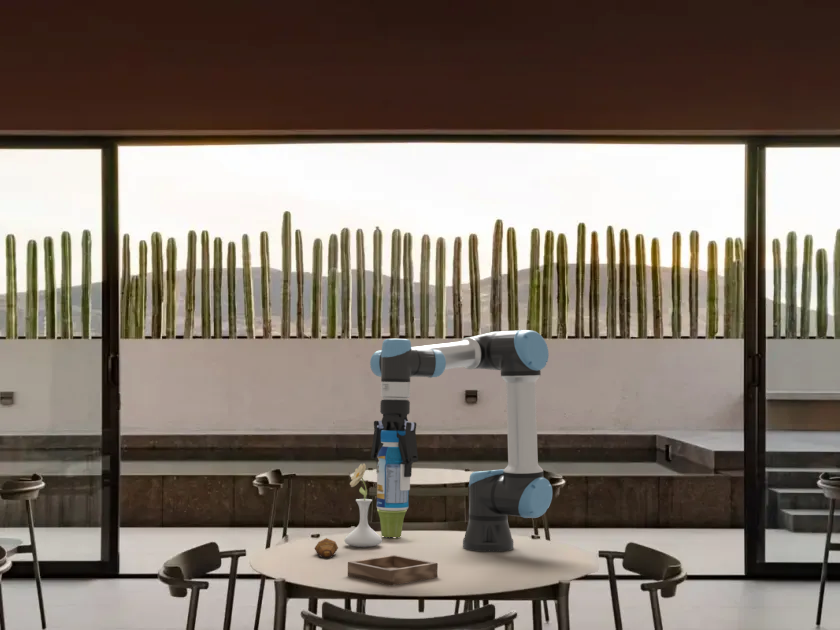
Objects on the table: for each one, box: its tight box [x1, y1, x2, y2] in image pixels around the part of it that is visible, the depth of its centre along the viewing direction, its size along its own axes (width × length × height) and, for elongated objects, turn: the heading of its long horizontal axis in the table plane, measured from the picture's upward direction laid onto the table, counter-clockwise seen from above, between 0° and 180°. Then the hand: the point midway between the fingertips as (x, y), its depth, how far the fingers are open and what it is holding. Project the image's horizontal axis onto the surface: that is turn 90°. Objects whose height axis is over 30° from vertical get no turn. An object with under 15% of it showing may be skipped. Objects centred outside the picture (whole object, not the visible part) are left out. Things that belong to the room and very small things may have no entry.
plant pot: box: [376, 509, 408, 538], centre depth 309 cm, size 9×9×9 cm
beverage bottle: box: [376, 430, 410, 511], centre depth 247 cm, size 8×8×20 cm
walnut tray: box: [347, 554, 439, 587], centre depth 244 cm, size 16×16×4 cm
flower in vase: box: [344, 463, 383, 548], centre depth 290 cm, size 13×11×25 cm
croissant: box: [314, 537, 339, 559], centre depth 275 cm, size 14×7×5 cm, turn 8°
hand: (393, 488), depth 246 cm, fingers closed on beverage bottle, 8 cm apart
